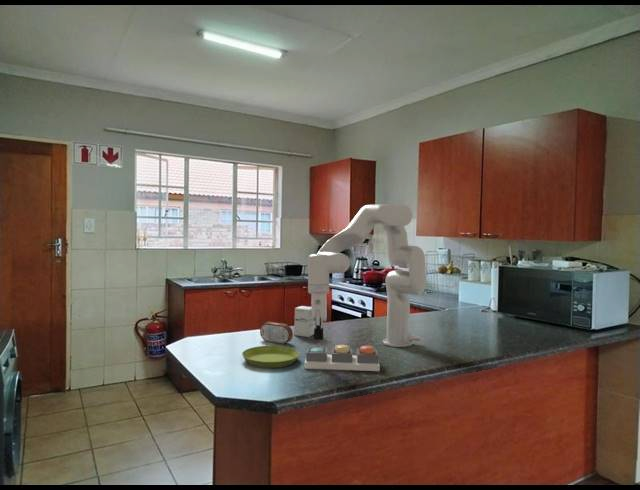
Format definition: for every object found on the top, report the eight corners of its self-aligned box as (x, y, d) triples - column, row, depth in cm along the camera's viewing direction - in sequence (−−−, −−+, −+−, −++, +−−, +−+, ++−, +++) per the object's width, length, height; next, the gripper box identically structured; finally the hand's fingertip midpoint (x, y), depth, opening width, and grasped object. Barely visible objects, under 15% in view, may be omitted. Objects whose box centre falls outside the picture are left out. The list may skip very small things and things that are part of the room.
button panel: (376, 361, 161) (377, 348, 161) (379, 371, 150) (379, 356, 150) (306, 359, 163) (307, 345, 162) (304, 368, 152) (304, 354, 151)
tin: (293, 343, 184) (293, 324, 184) (289, 345, 181) (289, 325, 181) (262, 339, 190) (262, 320, 190) (258, 341, 187) (259, 321, 187)
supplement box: (293, 335, 198) (294, 307, 198) (300, 332, 205) (300, 305, 205) (308, 337, 195) (309, 309, 195) (314, 333, 202) (315, 306, 202)
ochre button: (348, 353, 159) (349, 345, 159) (349, 357, 154) (349, 348, 154) (335, 352, 159) (335, 344, 159) (334, 356, 154) (335, 348, 154)
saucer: (250, 373, 146) (250, 364, 146) (236, 356, 165) (236, 348, 165) (307, 366, 154) (307, 357, 154) (288, 351, 173) (288, 343, 173)
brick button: (373, 354, 158) (373, 345, 158) (374, 358, 153) (375, 349, 153) (359, 353, 159) (360, 345, 158) (360, 357, 154) (360, 349, 153)
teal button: (324, 356, 159) (324, 348, 159) (323, 360, 154) (323, 352, 154) (310, 355, 159) (310, 347, 159) (309, 359, 154) (309, 351, 154)
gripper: (328, 291, 148) (328, 345, 149) (329, 285, 163) (329, 333, 164) (306, 291, 149) (306, 344, 150) (309, 285, 164) (309, 333, 165)
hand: (318, 339), depth 157 cm, fingers closed
